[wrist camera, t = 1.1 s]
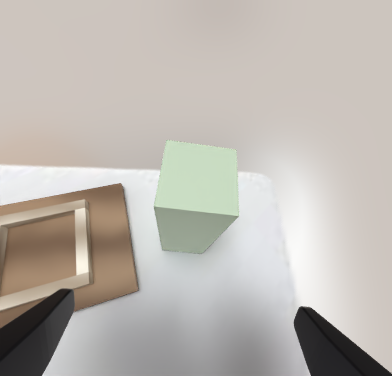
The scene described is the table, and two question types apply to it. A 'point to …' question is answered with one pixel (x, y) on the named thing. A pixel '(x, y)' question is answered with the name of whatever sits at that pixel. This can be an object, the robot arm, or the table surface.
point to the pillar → (195, 195)
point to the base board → (65, 250)
